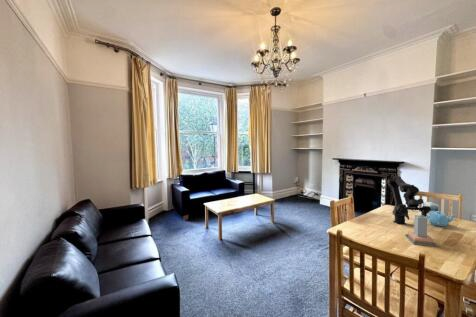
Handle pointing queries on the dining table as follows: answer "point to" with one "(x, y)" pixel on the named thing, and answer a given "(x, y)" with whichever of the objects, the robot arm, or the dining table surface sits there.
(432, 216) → the teapot
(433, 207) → the light bulb box
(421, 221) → the column brick
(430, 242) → the pinkish brown square block
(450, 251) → the dining table surface
